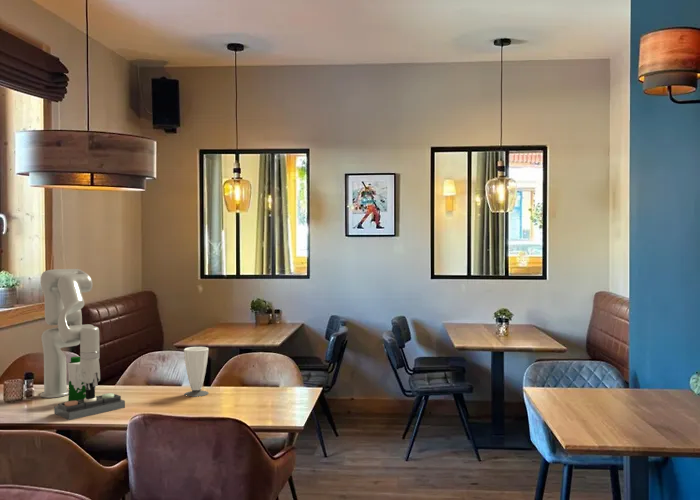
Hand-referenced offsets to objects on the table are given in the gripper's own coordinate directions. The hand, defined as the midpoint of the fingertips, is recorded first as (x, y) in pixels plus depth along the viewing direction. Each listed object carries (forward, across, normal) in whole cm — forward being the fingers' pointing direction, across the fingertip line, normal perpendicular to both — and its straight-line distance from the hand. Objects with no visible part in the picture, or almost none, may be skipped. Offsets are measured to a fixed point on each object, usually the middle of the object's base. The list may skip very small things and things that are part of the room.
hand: (90, 398), depth 253 cm
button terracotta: (+2, 0, -8) cm, 8 cm away
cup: (+6, +11, +46) cm, 48 cm away
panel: (+5, 0, 0) cm, 5 cm away
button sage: (+2, 0, +8) cm, 8 cm away
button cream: (+2, 0, 0) cm, 2 cm away
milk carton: (+5, -18, +4) cm, 19 cm away
